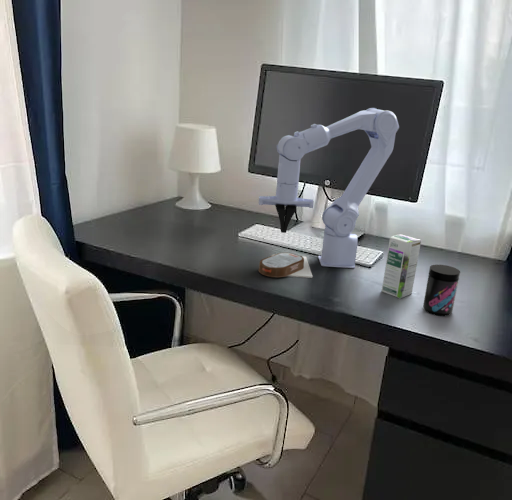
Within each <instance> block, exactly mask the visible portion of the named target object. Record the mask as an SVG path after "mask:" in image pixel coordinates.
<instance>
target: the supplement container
mask: <svg viewBox="0 0 512 500" xmlns="http://www.w3.org/2000/svg"><path fill="white" fill-rule="evenodd" d="M460 274H461V270H460V269H458V268H456V267H454V266H451V265H446V264H431V265H430V266H429V270H428V275H427V282H426V288H425V292H424V293H425V294H424V299H423V303H422V305H423V306H422V307H423V310H424V311H425V312H426V313H428V314H430V315H433V316H438V317H447V316H450V315H452V314H453V310H454V305H455V300H456V294H457V289H458V286H459V285H458V284H459V280H460V276H461V275H460Z"/></svg>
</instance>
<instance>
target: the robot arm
mask: <svg viewBox="0 0 512 500" xmlns="http://www.w3.org/2000/svg"><path fill="white" fill-rule="evenodd" d="M396 115H397V114H395V113H394V112H393V111H391V110H383V109H379V108H378V109H377V107H369V108H367V109H366V110H365V109H364V110H360V111H358V112H356V113H354V114H351V115H350V116H347V117H345V118H343V119H340V120H338V121H336V122H334V123H331V124H329V125H327V126H324V125H322V124H316V123H313V124H311V125H310V127H309V128H307V129H304V130H301V131H298V130H297V131H295V132H294V133H293V135H290V134H288V135H284V136H282V137H281V138H280V139H279V141H278V143H277V144H276V151H277V153H278V154H279V155H278V164H277V176H276V188H275V195H271V196H270V195H269V196H268V195H267V196H265V195H261V196H260V195H259V196H258V205H259V206H263V205H265V206H266V205H267V206H268V205H269V206H275V209H276V213H277V215H278V219H279V225H280V233H283V234H285V233H287V229H288V228H289V224H290V222H291V220H292V218H293V216H294V215H295V213H296V212H297V208H298V207H301V208H302V207H303V208H309V209H314V204H315V202H314V199H312V198H310V199H309V198H302V197H298V195H299V193H298V192H299V184H300V183H299V182H300V171H301V160H302V159H303V157H304V156H305V155H306V154H308V153H310V152H314V151H316V150H318V149H321V148H323V147H324V148H325V147H326V146H328V145H329V143H330V141H331V140H332V139H334V138H337V137H339V136H343V135H345V134H348V133H350V132H354V131H356V130H363V131H364V132H365V133H366V135H367V136H368V138H369V142H370V149H369V150H368V153H367V154H366V155H365V157H364V159H363V160H362V162H361V164H360V165H359V167H358V169H357V170H356V172H355V173H354V175H353V177H352V178H351V180H350V182H349V183H348V185H347V187H346V188H345V190H344V191H343V193H342V195H341V196H339V197H338V198H336V199H334V200H333V202H332V203H331V204H330V205H329V206H328V207H326V208H325V210H324V211H323V212H322V217H321V220H322V222H323V224H324V230H323V239H322V245H321V246H322V247H321V255H318V256H317V259H318V261H319V263H320V266H321V267H330V268H344V269H345V268H346V269H348V268H349V269H355V268H356V259H357V251H358V235H357V234H356V233H352V232H354V230H355V228H356V224H357V223H356V222H357V220H358V218H359V215H360V211H359V209H360V208H359V206H360V204H361V202H362V201H363V199H364V198H365V196H366V195H367V193H368V192H369V190H370V188H371V187H372V185H373V183H374V182H375V180H376V178H377V177H378V176H379V173H380V172H381V170H383V167H384V166H385V164H386V163H387V160H388V159H389V158H390V156H391V155H392V153H393V150H394V146H395V141H396V133H397V132H398V131H399V129H400V125H399V121H398V118H397V116H396Z"/></svg>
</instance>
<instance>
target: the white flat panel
mask: <svg viewBox="0 0 512 500" xmlns="http://www.w3.org/2000/svg"><path fill="white" fill-rule="evenodd" d="M301 256H302V257H303V258H304V268H303V269H302V270H299V271H297V272H295V273H292V274H290V275H288V276H287V277H292V278H307V279H310V278H311V279H312V278H313V273H312V270H311V267H310V265H309V261H308V257H307V256H303V255H301Z"/></svg>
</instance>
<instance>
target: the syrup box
mask: <svg viewBox="0 0 512 500" xmlns="http://www.w3.org/2000/svg"><path fill="white" fill-rule="evenodd" d="M388 242H389V243H388V248H387V252H386V253H387V254H386V262H385V267H384V275H383V280H382V285H381V293H385V294H387V295H391V296H393V297H395V298H397V299H400V300H401V299H403V298H405V297H407V296H409V295H412V294H413V288H414V283H415V278H416V277H415V276H416V271H417V266H418V260H419V256H420V250H421V249H420V248H421V245H422V244H421V243H422V239H418V238H415V237H412V236H408V235H404V234H396V235H395V234H394V235H392V236H391V237H389V241H388Z"/></svg>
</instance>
